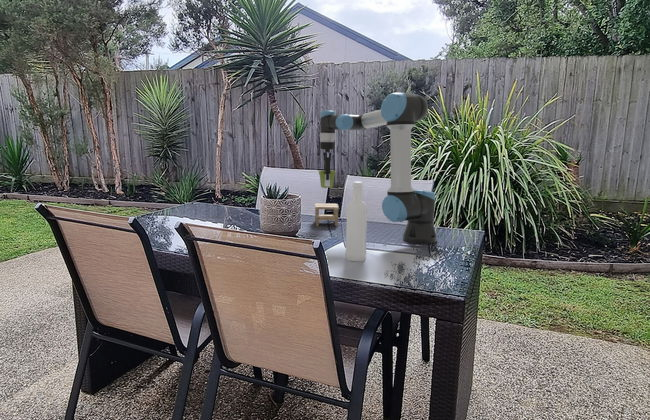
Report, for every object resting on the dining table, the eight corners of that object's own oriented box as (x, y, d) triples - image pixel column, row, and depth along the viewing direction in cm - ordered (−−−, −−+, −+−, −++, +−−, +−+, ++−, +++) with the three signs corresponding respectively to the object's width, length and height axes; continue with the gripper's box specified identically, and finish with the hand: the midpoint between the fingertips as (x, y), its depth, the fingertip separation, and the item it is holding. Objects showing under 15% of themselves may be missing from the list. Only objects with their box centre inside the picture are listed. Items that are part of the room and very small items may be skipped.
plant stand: (338, 226, 224) (338, 207, 222) (315, 226, 223) (315, 207, 222) (336, 221, 236) (336, 203, 234) (314, 221, 235) (314, 203, 233)
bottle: (346, 255, 172) (348, 180, 167) (366, 256, 172) (368, 181, 166) (344, 261, 165) (346, 183, 159) (365, 262, 164) (368, 183, 158)
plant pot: (339, 187, 228) (339, 170, 226) (330, 189, 220) (330, 171, 218) (323, 185, 232) (323, 169, 231) (314, 187, 224) (314, 170, 223)
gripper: (319, 140, 232) (318, 182, 236) (321, 142, 211) (320, 187, 215) (333, 141, 232) (332, 182, 237) (336, 142, 211) (335, 187, 215)
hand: (326, 185), depth 226 cm, fingers closed on plant pot, 9 cm apart
